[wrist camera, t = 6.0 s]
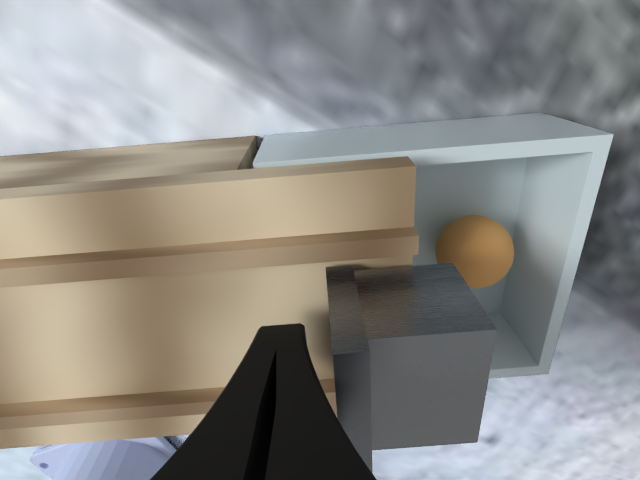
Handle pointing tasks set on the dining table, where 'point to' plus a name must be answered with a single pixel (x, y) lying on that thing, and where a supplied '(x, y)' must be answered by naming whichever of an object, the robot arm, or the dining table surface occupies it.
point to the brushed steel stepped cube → (408, 356)
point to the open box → (489, 206)
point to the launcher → (172, 276)
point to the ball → (476, 249)
